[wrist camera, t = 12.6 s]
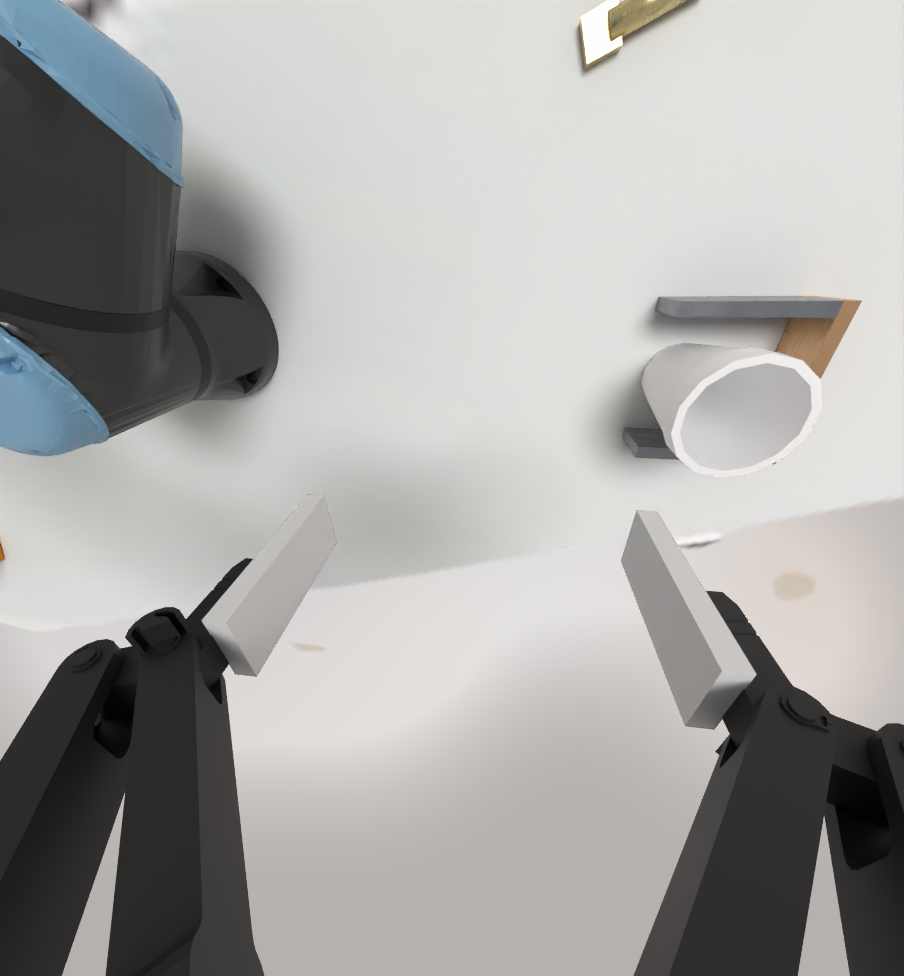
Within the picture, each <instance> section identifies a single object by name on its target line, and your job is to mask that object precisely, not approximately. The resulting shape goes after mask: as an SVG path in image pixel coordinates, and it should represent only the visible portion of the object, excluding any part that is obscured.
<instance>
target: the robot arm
mask: <svg viewBox="0 0 904 976" xmlns="http://www.w3.org/2000/svg"><path fill="white" fill-rule="evenodd" d="M182 130H183V126H182V118H181V114H180V111H179V108H178V105H177V103H176V101H175V99H174V97H173V95H172V94H171V92H170V90H169V89H168V88H167V86H166V85H165V84H164V82H163V81H162V80H161V79H160V78H159V77H158V76H157V75H156V74H155V73H154V72H153V71H152V70H151V69H149V68H148V67H147V66H146V65H145V64H143V63H142V62H141V61H139V60H138V59H137V58H136V57H134V56H133V55H132V54H130V53H129V52H128V51H126V50H125V49H124V48H123V47H121V46H120V45H119V44H117V43H116V42H115V41H113V40H112V39H111V38H109V37H108V36H107V35H105V34H104V33H103V32H101V31H100V30H99V29H97V28H96V27H95V26H93V25H92V24H91V23H90V22H88V21H87V20H86V19H84V18H83V17H82V16H80V15H79V14H78V13H76V12H75V11H74V10H72V9H71V8H70V7H68V6H67V5H66V4H64V3H63V2H62V1H60V0H0V446H1V447H4V448H7V449H10V450H13V451H16V452H20V453H24V454H29V455H37V456H52V455H60V454H64V453H67V452H70V451H73V450H76V449H78V448H81V447H84V446H87V445H90V444H96V443H102V442H104V441H106V440H107V439H108V438H110V437H112V436H115V435H117V434H119V433H121V432H124V431H126V430H128V429H130V428H133V427H135V426H137V425H139V424H142V423H144V422H146V421H148V420H151V419H153V418H155V417H157V416H160V415H162V414H164V413H166V412H168V411H171V410H173V409H175V408H177V407H180V406H182V405H184V404H186V403H189V402H191V401H193V400H233V399H238V398H242V397H245V396H247V395H249V394H251V393H253V392H255V391H257V390H259V389H261V388H262V387H263V386H264V385H265V384H266V383H267V382H268V381H269V380H270V378H271V377H272V375H273V373H274V370H275V368H276V364H277V358H278V343H277V336H276V332H275V328H274V325H273V322H272V319H271V317H270V314H269V312H268V310H267V308H266V306H265V304H264V303H263V301H262V300H261V298H260V296H259V295H258V294H257V292H256V291H255V290H254V288H253V287H252V286H251V285H250V284H249V283H248V282H247V280H246V279H245V278H244V277H242V276H241V275H240V274H239V273H238V272H237V271H236V270H234V269H233V268H232V267H230V266H229V265H227V264H226V263H224V262H222V261H221V260H219V259H217V258H214V257H212V256H209V255H206V254H203V253H198V252H184V251H175V249H176V238H177V227H178V216H179V205H180V194H181V188H183V189H184V185H185V183H184V179H183V177H182V176H181V160H182ZM336 543H337V541H336V537H335V534H334V530H333V526H332V522H331V519H330V515H329V511H328V507H327V503H326V500H325V496H324V495H312V494H308V495H307V496H306V497H305V498H304V500H303V501H302V502H301V503H300V504H299V506H298V507H297V508H296V509H295V510H294V511H293V513H292V514H291V515H290V516H289V517H288V519H287V520H286V521H285V522H284V523H283V524H282V526H281V527H280V528H279V529H278V530H277V532H276V533H275V534H274V535H273V536H272V537H271V539H270V540H269V541H268V542H267V543H266V545H265V546H264V547H263V548H262V549H261V551H260V552H259V553H258V554H257V555H256V556H255V558H254V559H248V558H245V559H244V560H243V561H241V562H240V563H238V564H237V565H235V566H234V567H232V568H231V569H230V571H229V572H228V573H227V574H226V575H225V576H224V577H223V578H222V581H220V582H219V583H218V584H217V585H216V586H215V587H214V590H212V591H211V592H210V593H209V594H208V595H207V596H206V598H205V599H204V600H203V601H202V602H201V603H200V604H199V605H198V607H197V608H196V609H195V610H194V611H193V612H192V613H191V614H190V616H189V617H188V618H187V619H185V618H184V616H183V615H182V613H181V612H180V610H179V609H176V608H174V607H165V608H161V609H158V610H155V611H153V612H151V613H148V614H146V615H145V616H143V617H142V618H140V619H139V620H138V621H136V622H135V623H134V624H133V626H132V627H131V628H130V629H129V630H128V632H127V635H126V637H125V638H126V639H127V640H128V641H129V642H130V644H131V645H132V646H131V647H126V648H121V649H120V648H119V647H118V646H117V645H116V644H115V643H114V641H111V640H108V639H104V640H97V641H95V642H92V643H89V644H86V645H85V646H83V647H81V648H79V649H78V650H76V651H74V652H73V653H72V654H71V655H70V656H68V657H67V658H66V659H65V660H64V661H63V662H62V663H61V665H60V666H59V667H58V669H57V670H56V672H55V673H54V675H53V677H52V678H51V680H50V682H49V683H48V685H47V686H46V688H45V690H44V691H43V693H42V694H41V696H40V698H39V699H38V701H37V703H36V704H35V706H34V707H33V709H32V711H31V712H30V714H29V716H28V717H27V719H26V720H25V722H24V724H23V725H22V727H21V729H20V730H19V732H18V733H17V735H16V737H15V738H14V740H13V741H12V743H11V745H10V746H9V748H8V749H7V751H6V753H5V754H4V756H3V758H2V759H1V761H0V976H62V973H63V970H64V967H65V964H66V962H67V959H68V956H69V953H70V950H71V947H72V944H73V941H74V938H75V935H76V932H77V930H78V927H79V924H80V921H81V918H82V915H83V912H84V909H85V906H86V903H87V901H88V898H89V894H90V892H91V889H92V886H93V883H94V880H95V877H96V874H97V871H98V868H99V866H100V863H101V860H102V857H103V854H104V851H105V848H106V845H107V842H108V839H109V837H110V833H111V831H112V828H113V825H114V822H115V819H116V816H117V813H118V810H119V807H120V805H121V802H122V799H123V796H124V793H125V801H124V810H123V819H122V828H121V837H120V847H119V856H118V866H117V875H116V884H115V893H114V903H113V913H112V921H111V922H112V923H111V931H110V941H109V949H108V959H107V968H106V976H264V973H263V969H262V965H261V963H260V960H259V958H258V955H257V953H256V950H255V946H254V942H253V935H252V928H251V919H250V918H251V917H250V908H249V899H248V890H247V880H246V871H245V862H244V852H243V843H242V834H241V824H240V815H239V806H238V796H237V787H236V778H235V769H234V759H233V750H232V741H231V731H230V722H229V713H228V703H227V695H226V685H225V679H224V677H223V675H222V673H223V671H224V670H225V668H226V667H227V666H228V664H229V665H230V666H231V668H232V670H233V671H234V673H235V674H238V675H247V676H255V677H257V675H258V674H259V672H260V670H261V669H262V667H263V665H264V664H265V662H266V660H267V659H268V657H269V655H270V654H271V652H272V650H273V649H274V647H275V645H276V644H277V642H278V640H279V639H280V637H281V635H282V634H283V632H284V630H285V628H286V627H287V625H288V623H289V622H290V620H291V618H292V617H293V615H294V613H295V611H296V610H297V608H298V607H299V605H300V603H301V602H302V600H303V598H304V597H305V595H306V593H307V592H308V590H309V588H310V587H311V585H312V583H313V582H314V580H315V578H316V577H317V575H318V573H319V572H320V570H321V568H322V567H323V565H324V563H325V561H326V560H327V558H328V556H329V555H330V553H331V551H332V550H333V548H334V546H335V545H336ZM621 562H622V565H623V567H624V570H625V573H626V575H627V578H628V580H629V583H630V585H631V588H632V591H633V593H634V596H635V598H636V601H637V603H638V606H639V609H640V611H641V614H642V616H643V619H644V622H645V624H646V627H647V629H648V632H649V634H650V637H651V639H652V642H653V645H654V647H655V650H656V653H657V655H658V658H659V660H660V663H661V665H662V668H663V670H664V673H665V676H666V678H667V681H668V683H669V686H670V689H671V691H672V693H673V696H674V699H675V701H676V704H677V706H678V709H679V712H680V714H681V717H682V719H683V722H684V724H685V726H688V727H697V728H706V729H715V728H716V727H717V725H718V724H719V723H720V721H721V720H722V719H723V721H724V723H725V725H726V727H727V729H728V731H729V733H730V735H729V736H728V737H727V738H726V739H725V741H724V742H723V743H722V744H721V746H720V747H719V748H718V749H717V750H716V753H718V754H719V758H718V760H717V763H716V766H715V768H714V771H713V773H712V776H711V779H710V781H709V784H708V786H707V789H706V791H705V794H704V796H703V799H702V801H701V804H700V807H699V809H698V812H697V814H696V817H695V820H694V822H693V825H692V827H691V830H690V832H689V835H688V837H687V840H686V843H685V845H684V848H683V850H682V853H681V855H680V858H679V860H678V863H677V866H676V868H675V871H674V873H673V876H672V878H671V881H670V884H669V886H668V889H667V891H666V894H665V896H664V899H663V902H662V904H661V907H660V909H659V912H658V914H657V917H656V919H655V922H654V925H653V927H652V930H651V932H650V935H649V937H648V940H647V943H646V945H645V948H644V950H643V953H642V955H641V958H640V961H639V963H638V966H637V968H636V971H635V973H634V976H798V970H799V964H800V957H801V952H802V945H803V939H804V933H805V927H806V921H807V915H808V909H809V903H810V896H811V890H812V885H813V878H814V872H815V866H816V860H817V854H818V848H819V842H820V836H821V830H822V824H823V818H824V816H825V822H826V828H827V835H828V841H829V847H830V853H831V860H832V866H833V872H834V878H835V884H836V891H837V897H838V903H839V909H840V916H841V922H842V928H843V935H844V941H845V947H846V953H847V960H848V966H849V972H850V976H904V725H902V724H897V723H896V724H895V723H894V724H886V725H885V726H883V727H882V728H881V729H879V730H878V731H875V730H872V729H869V728H866V727H864V726H861V725H858V724H855V723H853V722H850V721H847V720H844V719H842V718H839V717H836V716H834V715H832V714H830V713H829V711H828V710H827V709H826V708H825V707H824V706H823V705H822V704H821V703H820V702H819V701H818V700H816V699H814V698H813V697H812V696H810V695H809V694H808V693H806V692H805V691H802V690H800V689H798V688H796V687H793V685H792V684H791V683H790V682H789V680H788V679H787V677H786V676H785V674H784V673H783V671H782V670H781V669H780V667H779V665H778V664H777V662H776V661H775V660H774V658H773V657H772V655H771V654H770V652H769V651H768V649H767V648H766V646H765V645H764V643H763V642H762V640H761V639H760V637H759V636H757V635H756V631H755V630H754V629H753V627H752V626H751V624H750V623H748V620H747V618H746V617H745V615H744V614H743V612H742V611H741V610H740V608H739V607H738V605H737V604H736V603H734V602H733V601H732V600H731V599H730V598H728V597H727V596H726V595H725V594H724V593H723V592H714V591H705V589H704V587H703V586H702V584H701V582H700V581H699V579H698V577H697V576H696V574H695V573H694V571H693V569H692V568H691V566H690V564H689V563H688V561H687V559H686V558H685V556H684V554H683V553H682V552H681V550H680V548H679V546H678V545H677V543H676V541H675V540H674V538H673V536H672V535H671V533H670V532H669V530H668V528H667V527H666V525H665V523H664V522H663V520H662V518H661V517H660V515H659V514H658V512H657V511H644V510H637V511H636V514H635V517H634V520H633V524H632V527H631V530H630V533H629V536H628V540H627V543H626V546H625V549H624V553H623V556H622V559H621ZM125 790H126V791H125Z"/></svg>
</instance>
